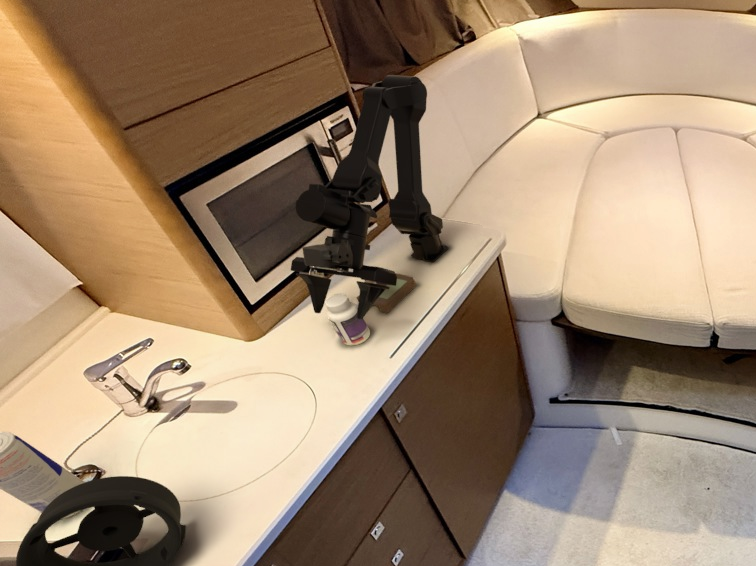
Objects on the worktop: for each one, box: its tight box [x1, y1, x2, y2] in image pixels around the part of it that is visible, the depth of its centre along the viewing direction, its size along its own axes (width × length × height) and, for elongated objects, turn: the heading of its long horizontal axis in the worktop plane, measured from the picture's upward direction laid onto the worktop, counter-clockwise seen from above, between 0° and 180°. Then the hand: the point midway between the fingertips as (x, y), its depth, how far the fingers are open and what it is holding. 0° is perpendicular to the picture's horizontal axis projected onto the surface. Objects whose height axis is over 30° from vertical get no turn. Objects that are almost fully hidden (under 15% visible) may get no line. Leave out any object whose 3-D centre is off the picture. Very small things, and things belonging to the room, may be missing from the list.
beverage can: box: [0, 430, 86, 519], centre depth 73 cm, size 6×6×15 cm
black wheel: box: [15, 475, 187, 566], centre depth 68 cm, size 14×14×10 cm
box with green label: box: [355, 272, 417, 314], centre depth 112 cm, size 10×7×3 cm
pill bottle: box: [324, 293, 371, 346], centre depth 100 cm, size 5×5×10 cm
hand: (338, 316), depth 98 cm, fingers open, 9 cm apart
